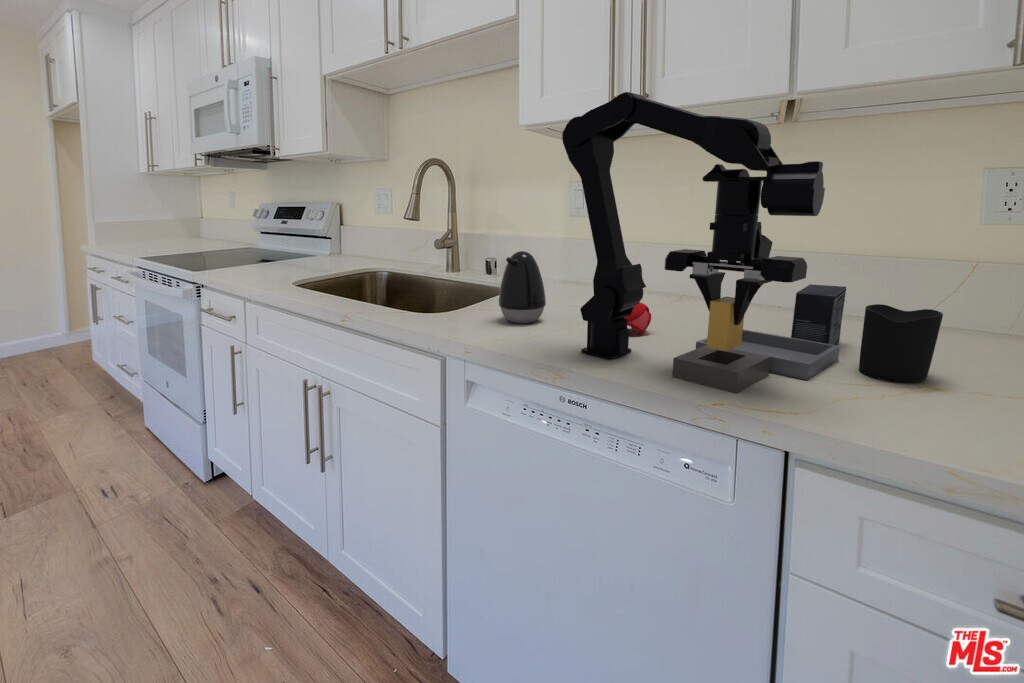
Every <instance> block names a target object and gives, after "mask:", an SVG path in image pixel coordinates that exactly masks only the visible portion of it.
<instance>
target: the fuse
mask: <svg viewBox="0 0 1024 683" xmlns="http://www.w3.org/2000/svg"><path fill="white" fill-rule="evenodd" d="M734 305H735V296H734V297H733V296H724V297H721V298H719V299H716V300H712V301H710V312H709V311H708V312H709V313H708V327H707V337H706V338H707V347H708V348H713V349H717V350H722V351H727V350H730V349H732V348H734V347H737V346H739V345H741V341H742V332H743V329H744V320H745V316H744V317H743V319H742V321H741V323H740V324H739V325H735V324H734Z"/></svg>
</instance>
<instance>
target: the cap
mask: <svg viewBox="0 0 1024 683" xmlns="http://www.w3.org/2000/svg"><path fill="white" fill-rule="evenodd" d="M624 318H625V319H628V323H627V327H630V329H631V330H632V329H634V330H633V331H636V332H638V335H640V336H643V335H644V334H645V332H646V331H647V329H648V327H649V326H650V324H651V321H652V313H651V312H650V308H649V306H648V305H646V304H645V303H643V302H641V301H640V302H639V304H638V305H637V306H635V307H634V310H633V312H632V314H631V316H626V317H624Z"/></svg>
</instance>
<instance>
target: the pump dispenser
mask: <svg viewBox="0 0 1024 683" xmlns="http://www.w3.org/2000/svg"><path fill="white" fill-rule="evenodd" d="M505 261H506V262H507V264H506V266H505V268H504V271H503V276H502V278H501V283H500V287H499V296H498V306H499V307H500V310H501V314H502V315H503V317H504V318H505V319H506V320H508V321H509V322H511V323H513V324H514V323H515V324H530V323H534V322H536V321H537V320H538V319H539V318H540V317H541V316H542V315H543V312H544V309H545V307H546V304H547V300H546V298H547V297H546V293H545V292H546V291H545V285H544V281H543V277H542V274H541V270H540V268H539V265H538V263H537V261H536V259H535V258H534V256H533V254H531V253H529V252H527V251H524V250H521V251H520V250H519V251H517V252H515V253H513V254H512V255H511V256H508V257H507V258H506V259H505Z"/></svg>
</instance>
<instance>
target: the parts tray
mask: <svg viewBox="0 0 1024 683" xmlns="http://www.w3.org/2000/svg"><path fill="white" fill-rule="evenodd" d="M705 345H707V337H705V338H703V339H700V340H697V341H696V342H695V349H697V348H700V347H702V346H705ZM732 349H736V350H741V351H746V352H751V353H757V354H762V355H767V356H771V360H770V368H769V373H770V374H771V373H772V374H776V375H781V376H785V377H790V378H794V379H797V380H798V379H799V380H803V381H808V380H810V379H812V378H813V377H815V376H816V375H818V374H819V373H821V372H822V371H824V370H825V369H827V368H829V367H830V366H832V365H834V364H835V363H836V362H838V361H839V358H840V356H839V355H840V349H841V345H838V344H837V345H832V344H826V343H820V342H814V341H808V340H803V339H797V338H791V336H785V335H778V334H773V333H766V332H760V331H756V330H755V331H754V330H751V329H744V328H743V332H742V341H741V345H739V346H737V347H734V348H732Z"/></svg>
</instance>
